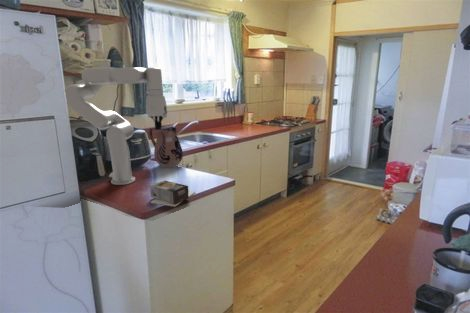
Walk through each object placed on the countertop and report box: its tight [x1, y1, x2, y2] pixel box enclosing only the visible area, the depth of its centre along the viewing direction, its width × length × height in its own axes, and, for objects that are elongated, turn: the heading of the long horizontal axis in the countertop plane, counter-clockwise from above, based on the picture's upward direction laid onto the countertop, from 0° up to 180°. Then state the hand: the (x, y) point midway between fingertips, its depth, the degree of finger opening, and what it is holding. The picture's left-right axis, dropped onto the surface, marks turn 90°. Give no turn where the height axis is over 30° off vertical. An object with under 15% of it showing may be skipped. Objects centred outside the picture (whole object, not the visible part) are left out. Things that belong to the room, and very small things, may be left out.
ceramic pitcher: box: [148, 124, 184, 168], centre depth 203 cm, size 18×21×25 cm
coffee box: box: [149, 179, 190, 204], centre depth 149 cm, size 9×6×16 cm
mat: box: [150, 190, 197, 208], centre depth 152 cm, size 13×18×1 cm
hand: (158, 128), depth 167 cm, fingers closed
